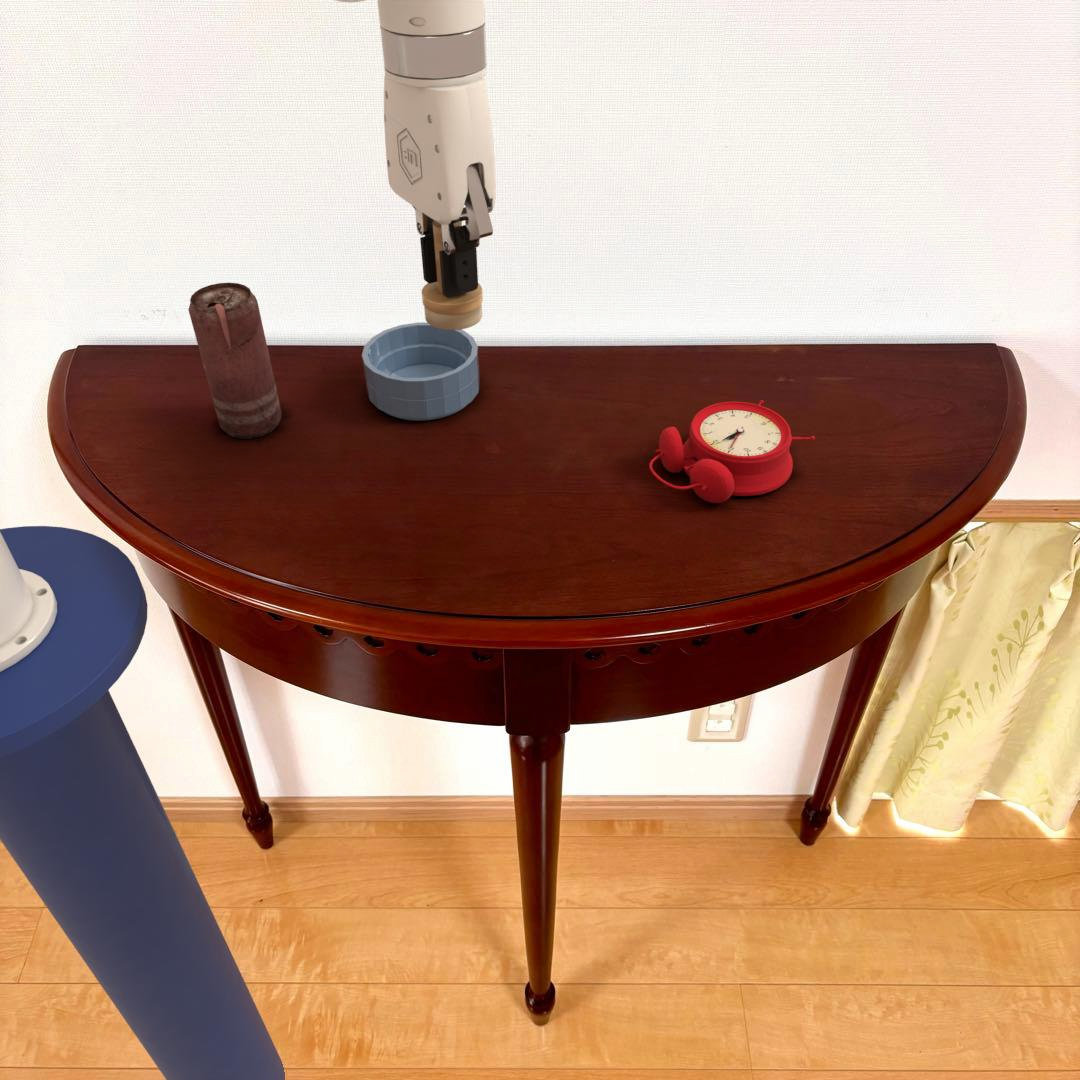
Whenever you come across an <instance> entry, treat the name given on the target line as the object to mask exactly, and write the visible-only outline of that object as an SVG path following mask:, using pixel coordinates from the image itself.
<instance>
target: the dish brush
mask: <svg viewBox="0 0 1080 1080" xmlns="http://www.w3.org/2000/svg"><path fill="white" fill-rule="evenodd" d="M453 224H454V231H456V230H457V228H458V227H460V226H463V221H461V222H457V223H453ZM433 236H434V248H435V261H436V273H437V282H434V283H427V282H426V284H424V286H423V287H422V289H421V301H422V305H423V308H424V309H423V310H424V320H425V322H427V323H428V324H430V325H431V326H433V327H435V328H438V329H443V330H461V329H462V330H466V329H469V328H472V327H473V326H475V325H477V324H478V323H480V321H482V318H483V301H484V297H483V296H484V293H483V287H482V285H481V284H480V283H479V282H478V288H477V289H476V290H474V291H471V292H467V293H464V294H461V295H457V296H454V297H451V298H447V297H446V296H444V295H443V293H442V282H441V269H440V256H439V251H443V250H444V247H443V238H442V228H441V224H440V223H438V222H436V221H435V220H434V221H433Z"/></svg>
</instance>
